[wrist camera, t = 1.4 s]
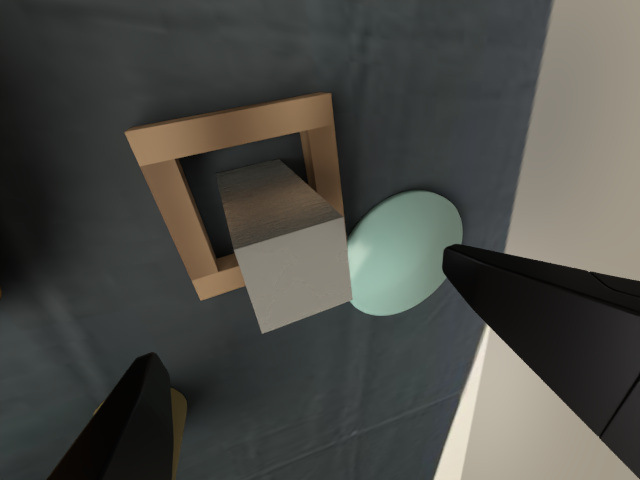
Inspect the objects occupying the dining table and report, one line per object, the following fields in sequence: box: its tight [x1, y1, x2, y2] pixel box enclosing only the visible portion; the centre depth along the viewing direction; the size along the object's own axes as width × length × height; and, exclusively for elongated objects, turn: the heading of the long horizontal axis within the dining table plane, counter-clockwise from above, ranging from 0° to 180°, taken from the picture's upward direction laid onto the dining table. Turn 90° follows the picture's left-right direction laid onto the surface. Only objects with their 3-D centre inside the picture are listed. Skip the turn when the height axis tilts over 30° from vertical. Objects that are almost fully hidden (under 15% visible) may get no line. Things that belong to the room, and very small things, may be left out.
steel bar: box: [215, 159, 353, 334], centre depth 14 cm, size 4×4×9 cm
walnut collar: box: [125, 92, 348, 300], centre depth 17 cm, size 10×10×2 cm
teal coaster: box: [347, 190, 463, 316], centre depth 24 cm, size 11×11×1 cm
